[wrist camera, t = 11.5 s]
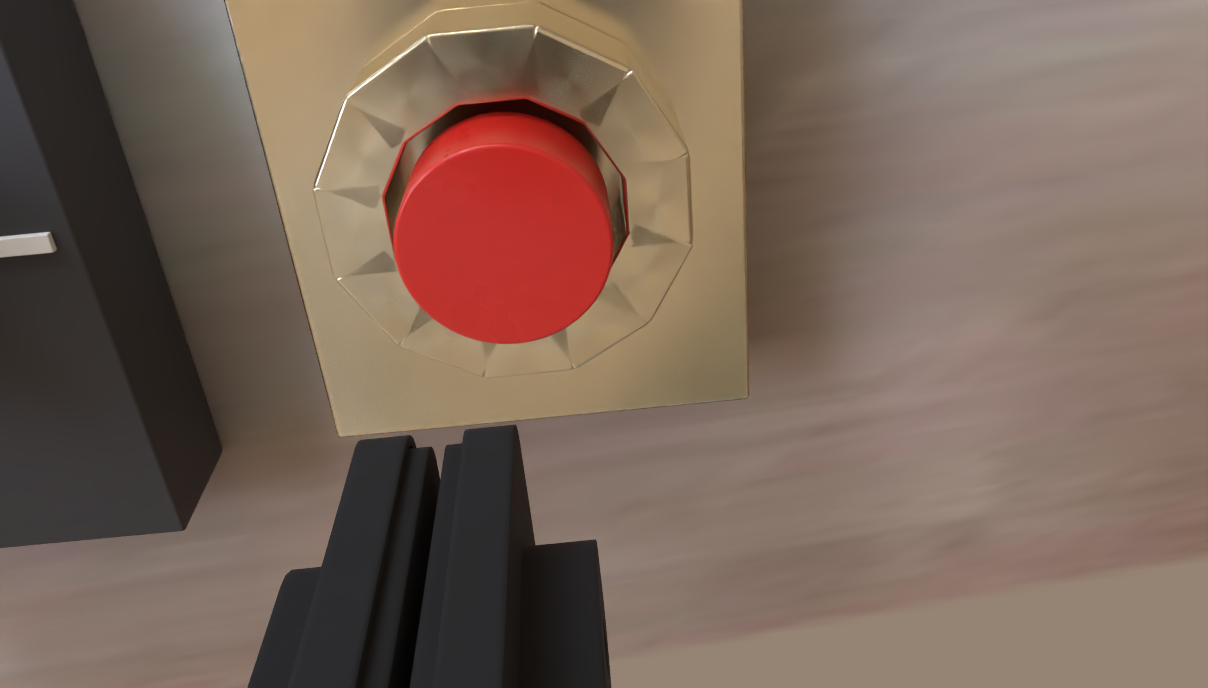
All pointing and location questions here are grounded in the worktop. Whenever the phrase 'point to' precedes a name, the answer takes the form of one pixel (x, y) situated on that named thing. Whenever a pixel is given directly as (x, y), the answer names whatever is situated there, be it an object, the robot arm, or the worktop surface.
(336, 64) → the button box
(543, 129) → the button
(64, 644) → the worktop surface
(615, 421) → the worktop surface
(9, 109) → the panel
